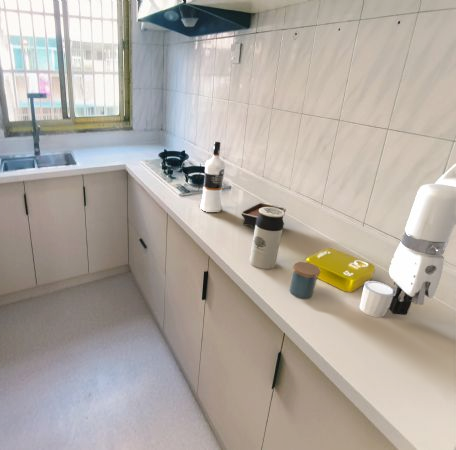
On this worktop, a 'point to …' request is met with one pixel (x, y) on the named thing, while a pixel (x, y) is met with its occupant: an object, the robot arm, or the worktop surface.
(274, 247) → the travel mug
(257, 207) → the baking dish
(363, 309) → the white cup
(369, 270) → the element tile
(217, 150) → the vodka
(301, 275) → the salt pot
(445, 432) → the worktop surface
